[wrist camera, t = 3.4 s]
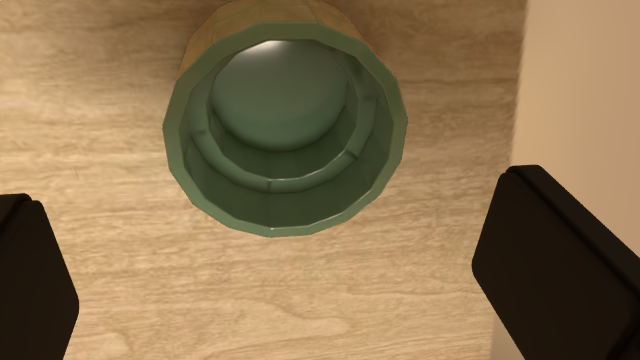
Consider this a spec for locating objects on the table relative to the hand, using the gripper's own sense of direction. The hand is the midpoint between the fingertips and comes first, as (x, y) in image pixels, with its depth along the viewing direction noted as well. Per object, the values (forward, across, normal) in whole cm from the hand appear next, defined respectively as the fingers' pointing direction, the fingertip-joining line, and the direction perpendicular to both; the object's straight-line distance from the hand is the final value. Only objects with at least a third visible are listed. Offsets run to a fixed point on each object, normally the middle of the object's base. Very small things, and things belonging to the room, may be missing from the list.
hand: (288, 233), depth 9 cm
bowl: (+9, -1, 0) cm, 9 cm away
